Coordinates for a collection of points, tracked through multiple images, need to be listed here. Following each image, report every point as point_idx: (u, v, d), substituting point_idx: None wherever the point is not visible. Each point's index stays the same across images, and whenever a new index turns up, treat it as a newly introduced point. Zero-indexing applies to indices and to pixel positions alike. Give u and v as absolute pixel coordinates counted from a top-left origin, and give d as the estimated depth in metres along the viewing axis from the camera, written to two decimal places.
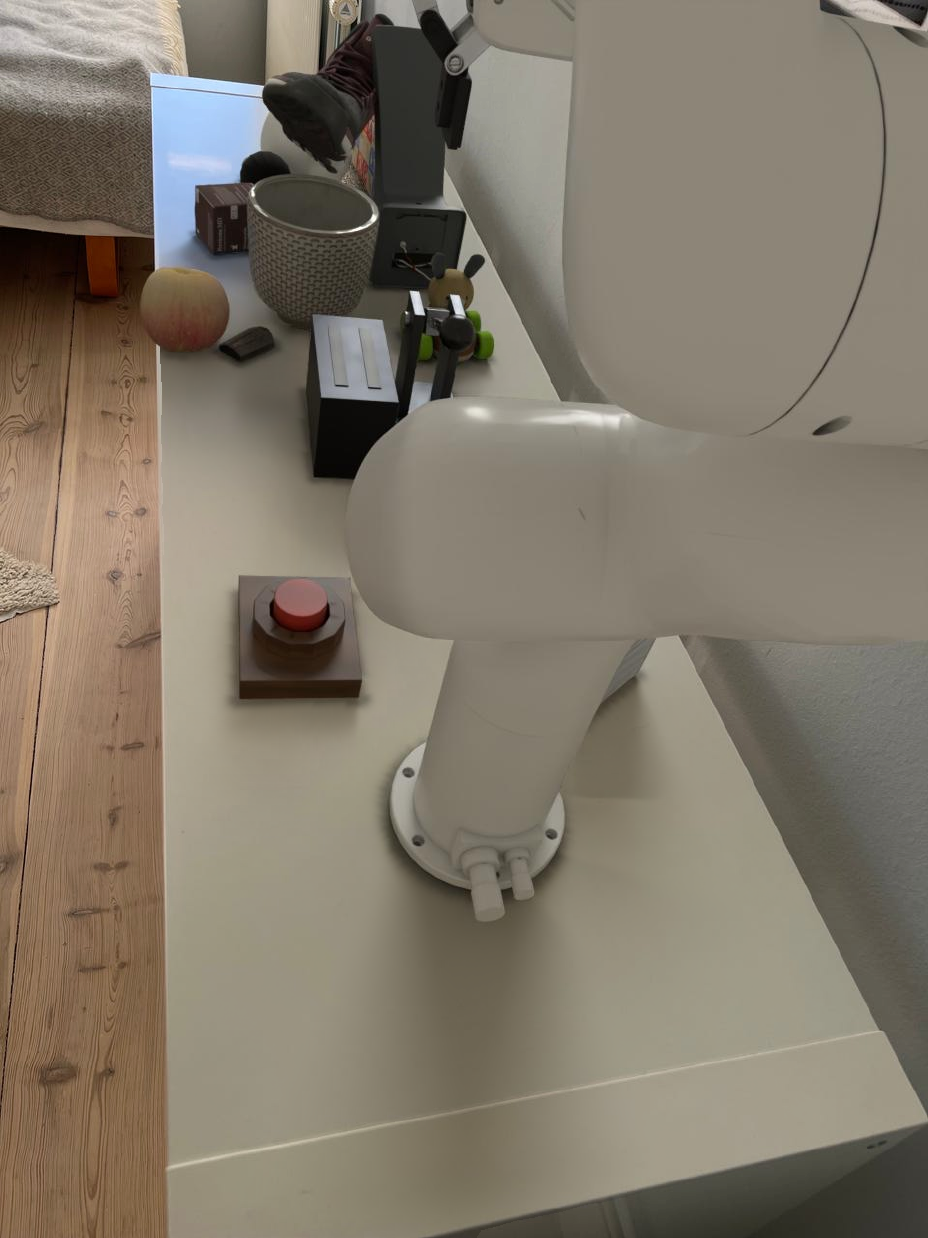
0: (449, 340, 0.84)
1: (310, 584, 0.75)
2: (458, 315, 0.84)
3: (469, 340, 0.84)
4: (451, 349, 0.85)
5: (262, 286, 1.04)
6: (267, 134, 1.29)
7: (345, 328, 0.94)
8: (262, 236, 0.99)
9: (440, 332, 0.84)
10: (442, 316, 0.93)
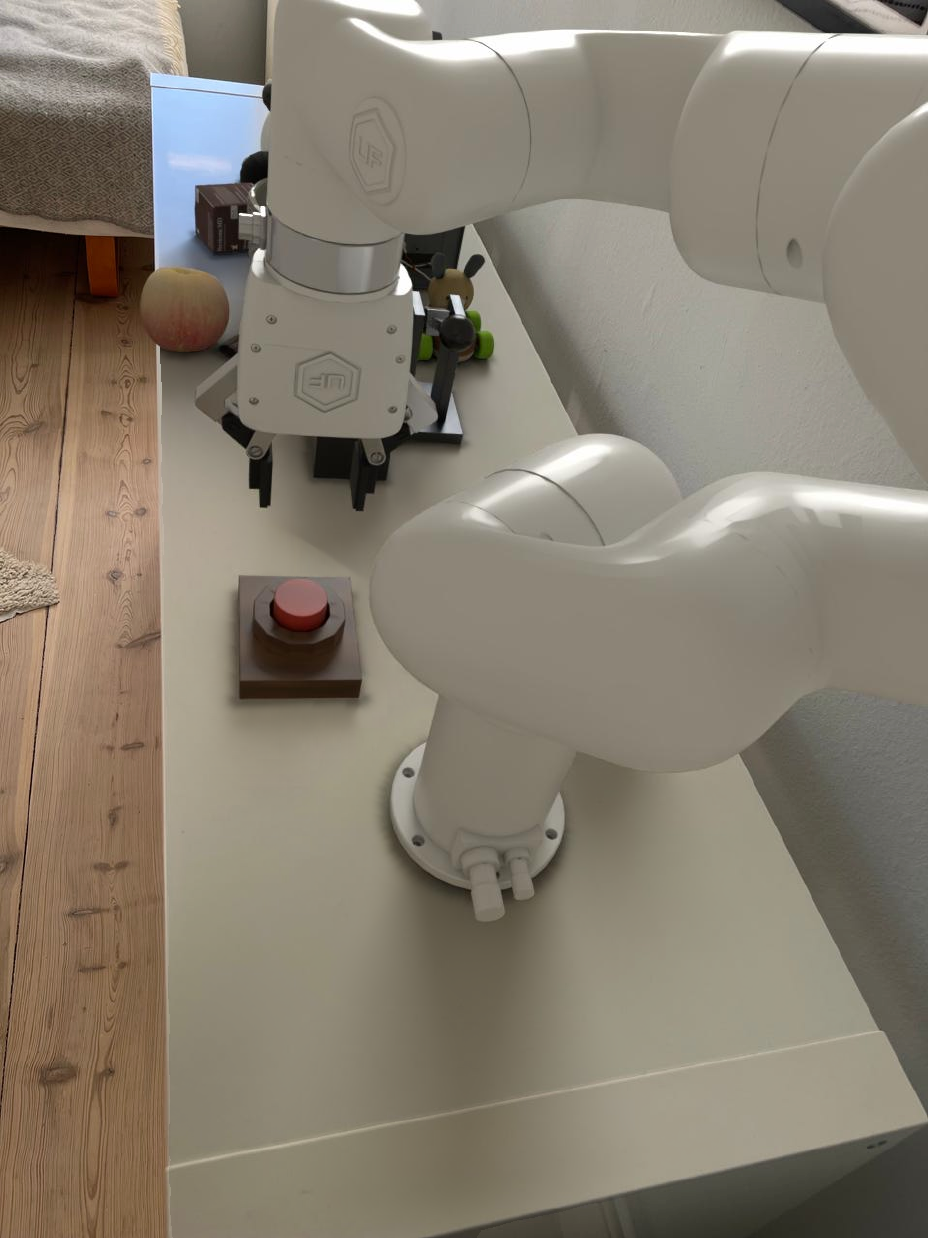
0: (449, 340, 0.84)
1: (310, 584, 0.75)
2: (458, 315, 0.84)
3: (469, 340, 0.84)
4: (451, 349, 0.85)
5: None
6: (267, 134, 1.29)
7: None
8: None
9: (440, 332, 0.84)
10: (442, 316, 0.93)
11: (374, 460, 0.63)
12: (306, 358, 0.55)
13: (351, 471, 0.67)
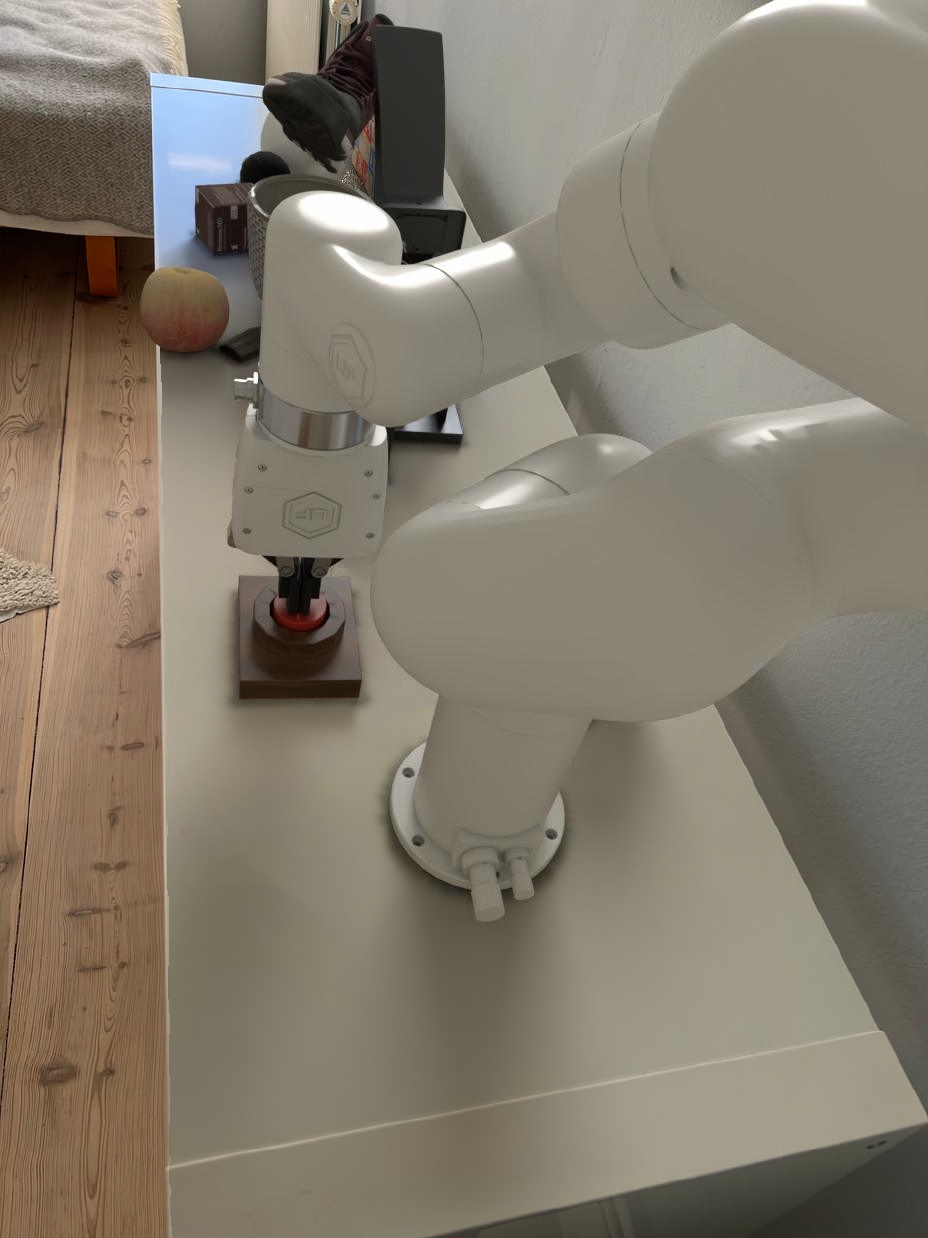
0: None
1: None
2: None
3: None
4: None
5: (262, 286, 1.04)
6: (267, 134, 1.29)
7: None
8: (262, 236, 0.99)
9: None
10: None
11: (317, 573, 0.71)
12: (293, 497, 0.63)
13: None
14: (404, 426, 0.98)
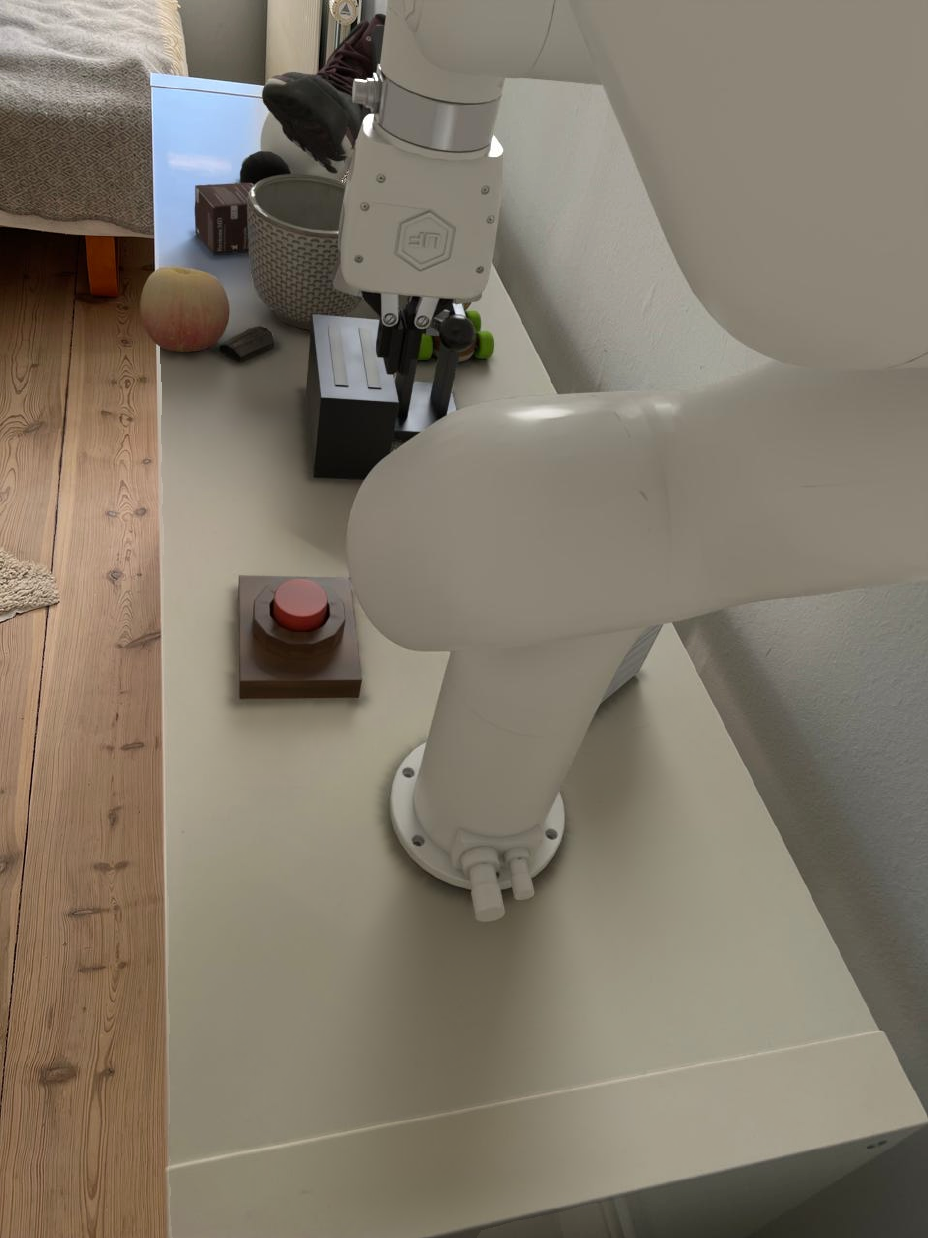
0: (449, 340, 0.84)
1: (310, 584, 0.75)
2: (458, 315, 0.84)
3: (469, 340, 0.84)
4: (451, 349, 0.85)
5: (262, 286, 1.04)
6: (267, 134, 1.29)
7: (345, 328, 0.94)
8: (262, 236, 0.99)
9: (440, 332, 0.84)
10: (442, 316, 0.93)
11: (420, 324, 0.70)
12: (408, 216, 0.62)
13: None
14: (404, 426, 0.98)
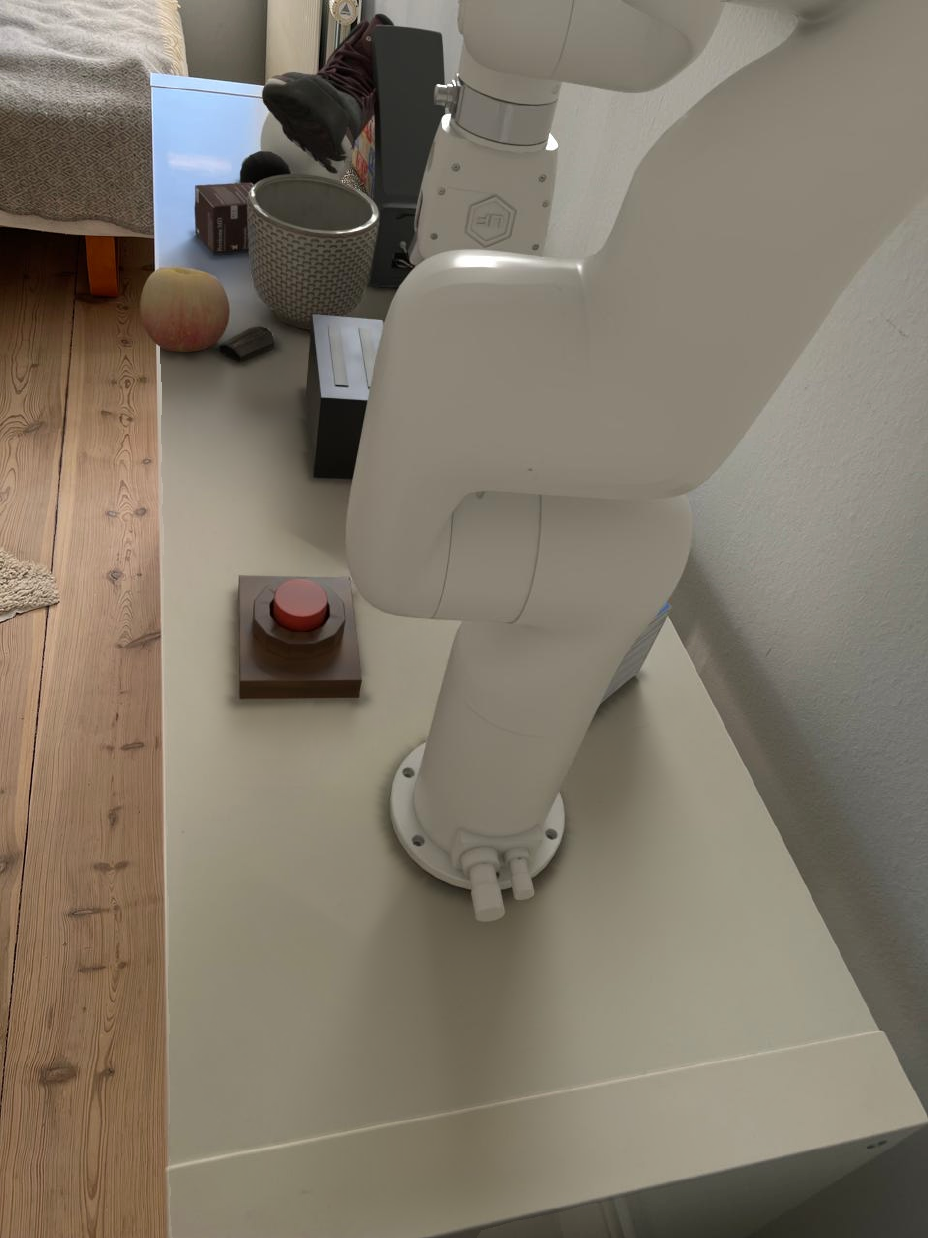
0: None
1: (310, 584, 0.75)
2: None
3: None
4: None
5: (262, 286, 1.04)
6: (267, 134, 1.29)
7: (345, 328, 0.94)
8: (262, 236, 0.99)
9: None
10: None
11: None
12: (477, 200, 0.73)
13: None
14: None
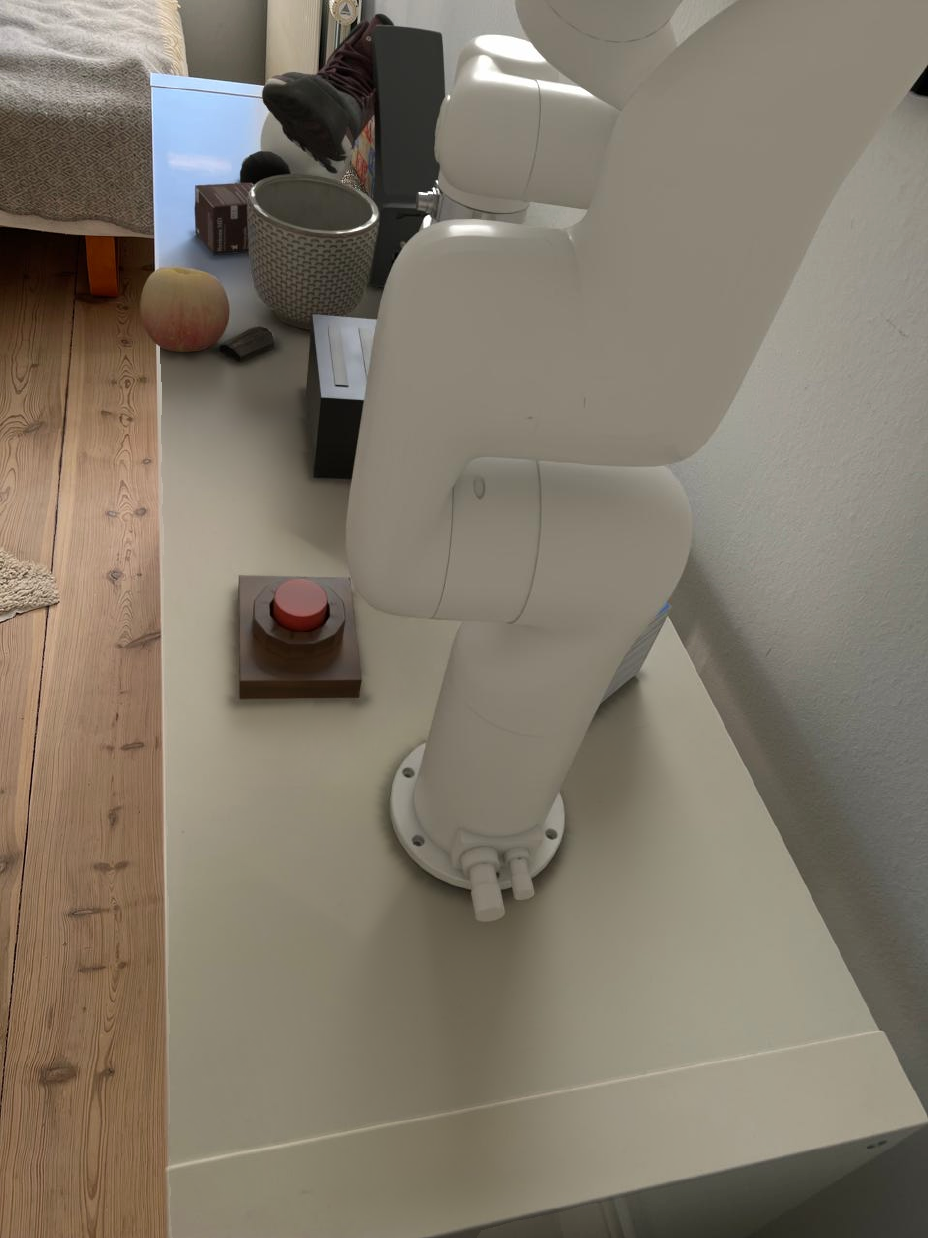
0: None
1: (310, 584, 0.75)
2: None
3: None
4: None
5: (262, 286, 1.04)
6: (267, 134, 1.29)
7: (345, 328, 0.94)
8: (262, 236, 0.99)
9: None
10: None
11: None
12: None
13: None
14: None
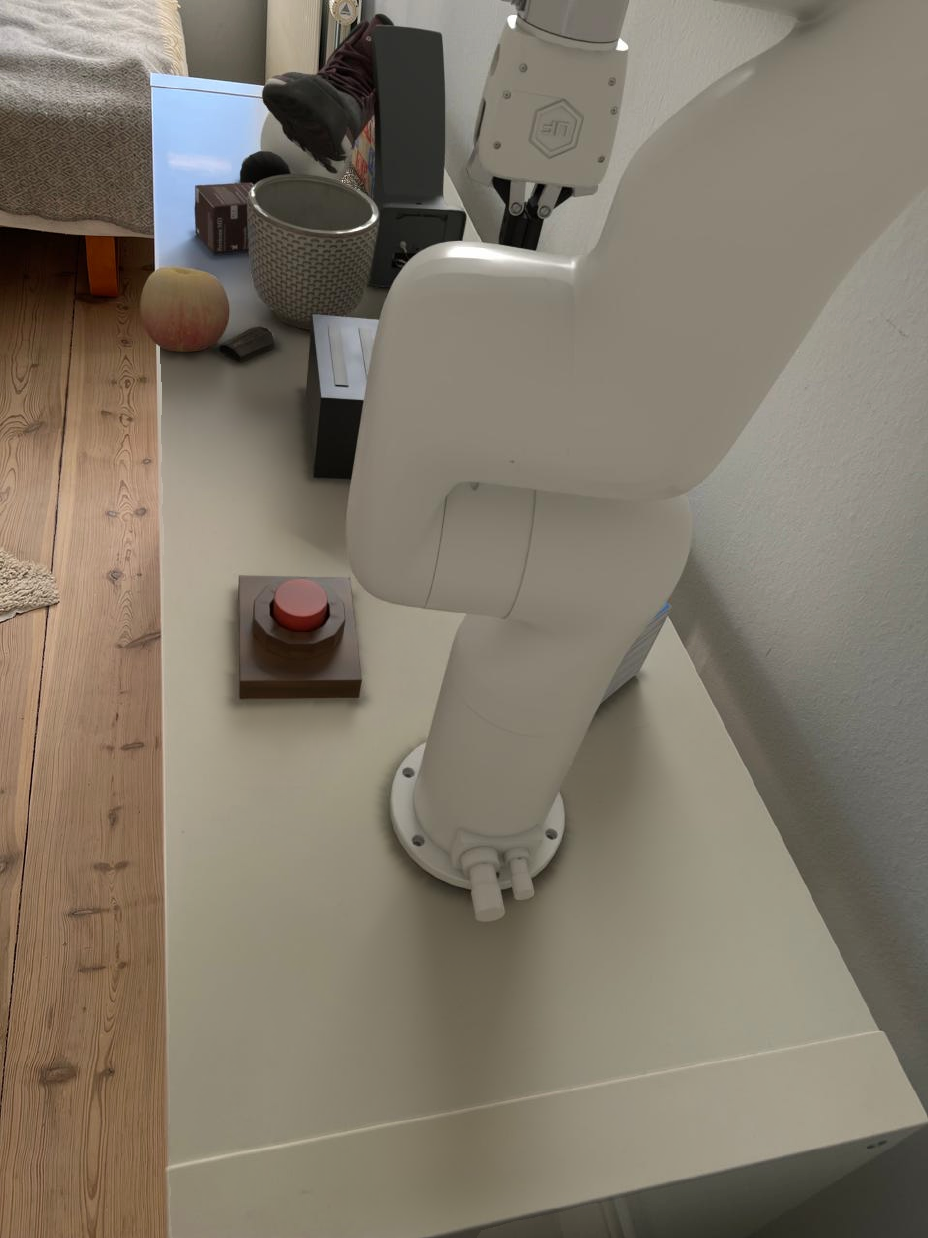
0: None
1: (310, 584, 0.75)
2: None
3: None
4: None
5: (262, 286, 1.04)
6: (267, 134, 1.29)
7: (345, 328, 0.94)
8: (262, 236, 0.99)
9: None
10: None
11: (542, 214, 0.78)
12: (544, 105, 0.70)
13: None
14: None
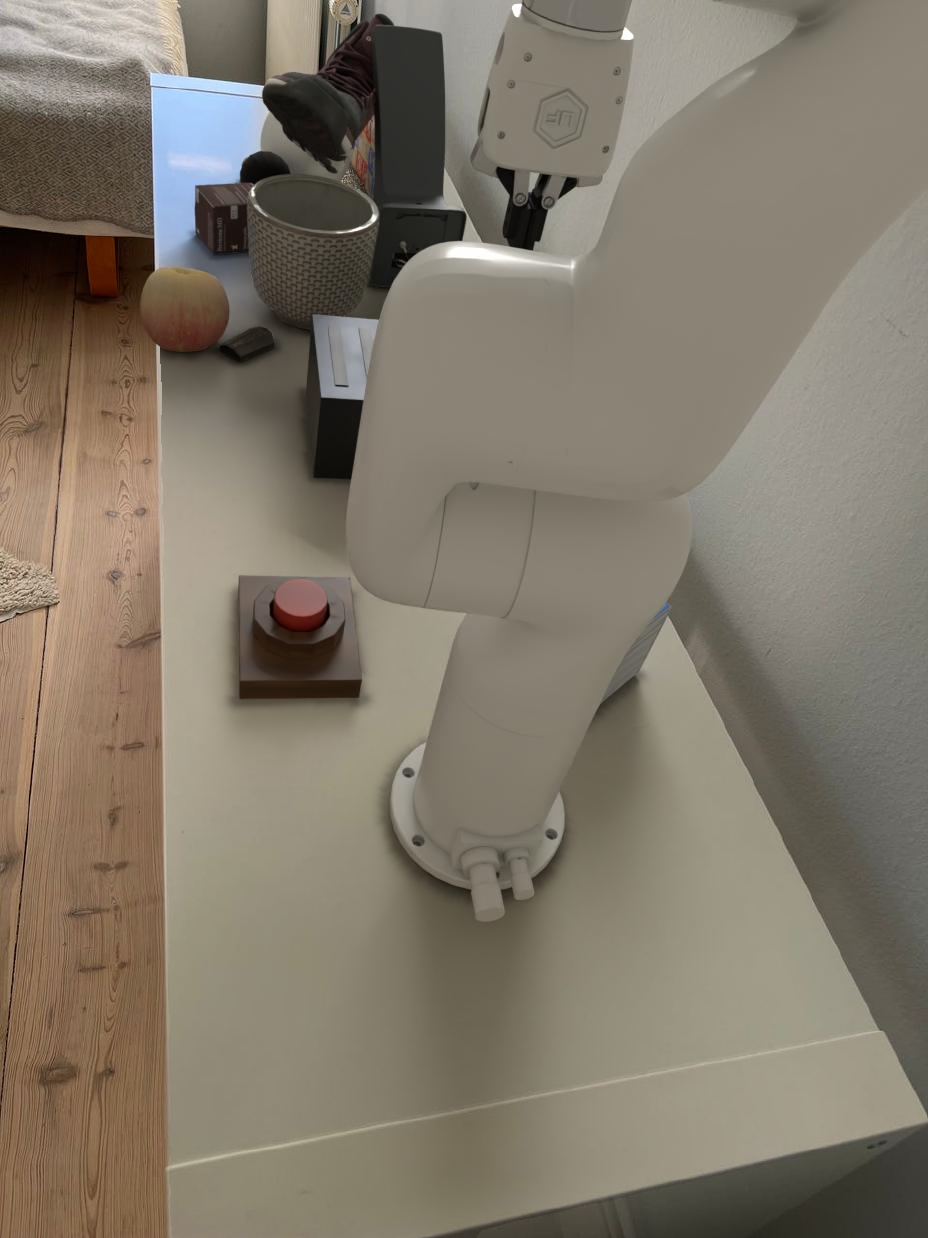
0: None
1: (310, 584, 0.75)
2: None
3: None
4: None
5: (262, 286, 1.04)
6: (267, 134, 1.29)
7: (345, 328, 0.94)
8: (262, 236, 0.99)
9: None
10: None
11: (546, 204, 0.78)
12: (548, 94, 0.70)
13: None
14: None
